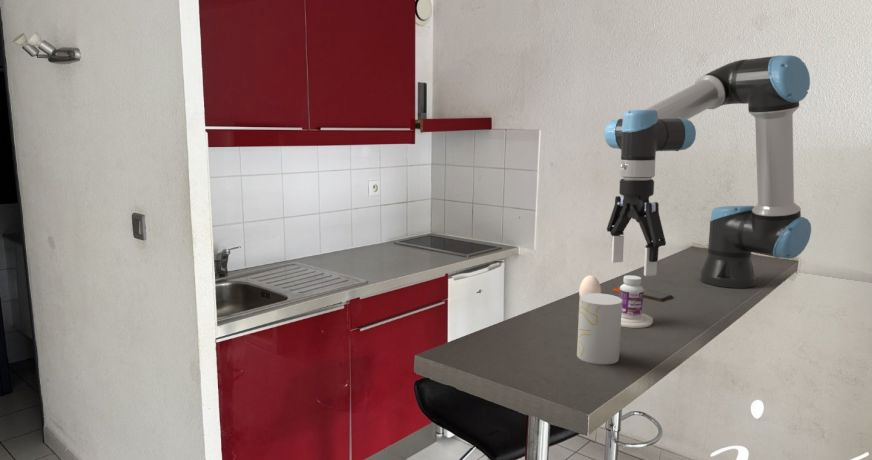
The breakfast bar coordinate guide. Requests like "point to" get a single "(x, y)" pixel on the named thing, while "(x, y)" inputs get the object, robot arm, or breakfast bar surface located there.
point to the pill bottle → (631, 297)
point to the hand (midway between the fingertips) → (632, 268)
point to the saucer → (637, 322)
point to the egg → (589, 285)
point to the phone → (652, 295)
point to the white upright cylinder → (599, 328)
